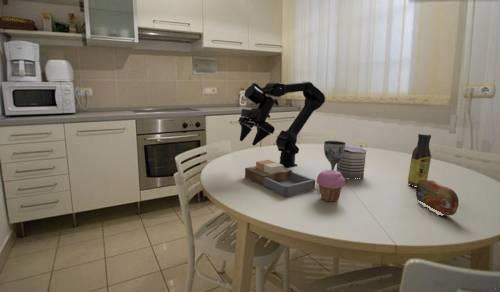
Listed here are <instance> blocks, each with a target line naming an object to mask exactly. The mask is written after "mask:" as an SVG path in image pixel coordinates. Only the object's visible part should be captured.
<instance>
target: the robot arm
mask: <svg viewBox="0 0 500 292" xmlns="http://www.w3.org/2000/svg"><path fill="white" fill-rule="evenodd" d="M298 92H302V95H303V97H304V98H305V99H304V104H303V105H304V106H303V107H302V108H301V109H300V111H299V113H298V114H297V115H296V118H294V120H293V121H292V123H291V124H290V125H289V127H288V128H287V129H286V130H281V131H280V133H279V134H278V135H277V136H276V140H275V144H276V147H277V150H278V152H280V155H279V164H282V165H284V167H285V168H292V167H297V166H298V164H297V163H296V155H297V154H299V151H300V148H299V147H298V145H297V141H298V135H299V133H300V132H301V130H302V129H303V127H304V126H305V124H307V121H309V119H310V117H311V116H312V114H313V113H314V111H317V110H318V109H320V108H321V107H322V106H323V104H324V103H325V101H326V96H325V93H323V92H322V91H321V90H320V89H319V88H318V87H316V86H315V85H314V84H313V83H312V82H310V81H302V82H295V83H293V82H291V83H282V82H267V83H266V85H265V86H264V87H261V86H259V84H258V83H256V82H252V84H251V85H250V86H249V87H247V89H245V92H244V97H245V98H246V99H248V100H249V101H250V102H251V103H253V104H254V105H257V107H254V108H253V107H252V108H251V109H247V108H246V109H245V108H241V112H240V113H241V114H240V117H239V119H238V120H237V122H238V124H239V125H240V134H239V135H240V136H239V141H240V142H243V141H244V140H245V139H246V137H247V136H248V135H249V134H250V133H251V132H252V131H253V127H256V133H255V135H254V138H253V140H252V144H251V145H252V146H253V147H254V146H256V145H257V144H259V143H260V142H261V141H263V140H264V139H265V138H267V137H268V136H271V135H273V134H274V132H275V129H276V128H275V126H274V125H272V124H271V123H270V122H268V121H266V120H268V118H269V119H270V118H271V115H270V113H271V111H272V109H273V107H274V106H277V107H279V105H280V104H279V102H278V99H277V98H279V97H282V96H285V95H286V94H288V93H298ZM273 97H275V98H273Z"/></svg>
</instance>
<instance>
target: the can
mask: <svg viewBox="0 0 500 292" xmlns="http://www.w3.org/2000/svg"><path fill="white" fill-rule="evenodd" d="M366 154H367V150H366V149H365V148H362V147H358V146H354V145H347V144H346V146H345V152H344V155H343V157H342V159H341V160H340V161H339V162H338V163H337V164H336V170H335V171H339V172H340V173H341V174H342V176H343V178H344V179H345V178H349V179H348V180H354V179H355V178H356V179H357V178H358V179H359V178H362V177H363V178H364V176H365V175H364V174H365V166H366V156H367V155H366ZM363 178H362V179H363ZM359 180H360V179H359Z"/></svg>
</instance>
